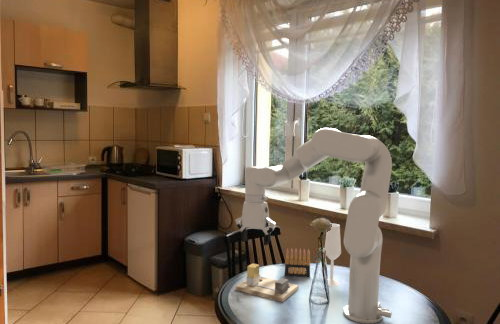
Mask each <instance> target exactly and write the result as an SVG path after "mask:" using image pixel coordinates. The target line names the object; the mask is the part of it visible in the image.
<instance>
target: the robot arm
mask: <svg viewBox="0 0 500 324" xmlns="http://www.w3.org/2000/svg"><path fill="white" fill-rule="evenodd" d="M330 157H331V158H334V159H335V158H336V159H338V160H339V159H340V160H344V161H347V162H350V163H351V162H352V163H356V164H357V163H358V164H359V163H364V165H365V166H364V170H363V173H362V177H361V178H362V180H361V184H360V185H361V186H360V189H359V190H360V191H359V193H358V194H357V195H355V196H354V197H353V198H352V199H351V202H350V204H349V206H348V210H347V216H346V221H345V228H344V233H343V234H344V235H343V246H344V248H345V250H346V252H347V253H348V254H349V255H350V258H349V259H350V260H349V277H348V278H349V279H348V282H349V283H348V298H347V299H348V303H347V304H348V305H345V306H344V307H343V308H342V311H343V315H344V317H346V318H347V319H349V320H351V321H353V322H356V323H360V324H377V323H380V322H381V321H382V320H383V317H385V318H388V319H391V318H392V312H391V311H390V309H389V308H386V307H385V308H384V307H382V306H381V302H380V301H379V294H380V293H379V292H380V290H379V289H380V270H381V257H382V256H381V255H382V248H383V240H384V239H383V233H382V229H381V228H380V226H379V222H380V218H381V217H382V216H383V215H384V213H386V209H387V200H388V195H389V190H390V189H389V188H390V182H391V177H392V176H391V174H392V167H393V162H392V161H393V160H392V156H391V153H390V150H389V148H388V147H387V146H386V145H385V144H384V143H383V142H382V141H381V140H379V138H376V137H374V136H371V135H366V134H362V135H360V134H354V133H348V132H344V131H340V130H338V129H337V128H332V127H330V128H329V127H323V128H320V129H318V130H316V131H315V132H314V133H313V134H312V136H311V138H310V139H309V140H307V141H306V142H304V143H303V144H301V145H299V146H298V147H296V149H295V153H294V154H293V155H292V156H291V157H290V158H288V159H287V160H285V161H283V162H282V163H280V164H278V165H274V166H266V167H264V166H260V165H253V166H252V165H251V166H246V167H245V170H244V175H245V177H244V184H245V185H244V186H245V187H244V188H245V189H244V195H245V199H244V202H243V205H242V213H241V216H239V217H238V218H236V219H235V220H234V221H235V224H236V225H237V228H238V229H239V232H240V238H241V243H244V242H247V241H248V230H247V229H253V230H262V232H263V233H264V235H263V246H268V245H270V240H271V233H273V231H274V230H275V228H276V226H277V223H276V222H275V221H273V220H272V219H271V218H270V211H269V205H268V202H266V201H267V200H269V197H268V196H266V188H274V187H278V186H282V185H285V184H287V183H289V182H290V181H292V180H294V179H296V178H298V177H299V176H301V175H302V174H303V173H305V172H307V171H308V170H310V169H311V168H313V167H314V166H316V165H318V164H320V163H321V162H323V161H325V160H326V159H329V158H330ZM269 227H270V228H269Z"/></svg>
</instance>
